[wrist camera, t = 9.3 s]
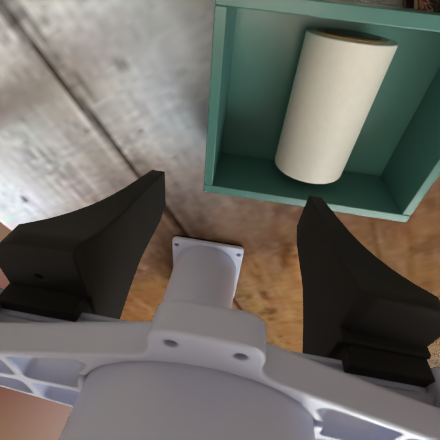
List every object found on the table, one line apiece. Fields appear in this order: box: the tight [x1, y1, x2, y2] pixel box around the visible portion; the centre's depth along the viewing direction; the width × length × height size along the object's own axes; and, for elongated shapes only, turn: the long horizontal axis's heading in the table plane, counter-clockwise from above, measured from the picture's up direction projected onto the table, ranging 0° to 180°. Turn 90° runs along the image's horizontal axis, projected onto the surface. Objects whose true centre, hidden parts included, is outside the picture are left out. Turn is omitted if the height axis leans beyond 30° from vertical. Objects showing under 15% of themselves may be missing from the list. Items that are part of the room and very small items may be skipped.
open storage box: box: [204, 0, 440, 222], centre depth 18 cm, size 11×14×6 cm
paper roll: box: [275, 28, 398, 184], centre depth 18 cm, size 8×5×5 cm
